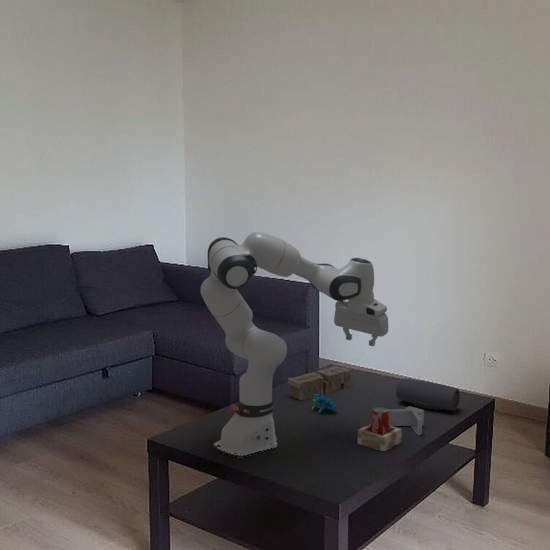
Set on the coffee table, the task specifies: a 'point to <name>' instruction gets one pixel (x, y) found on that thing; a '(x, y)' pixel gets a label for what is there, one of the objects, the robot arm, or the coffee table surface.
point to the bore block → (379, 438)
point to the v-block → (407, 418)
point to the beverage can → (380, 420)
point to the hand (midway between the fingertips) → (360, 342)
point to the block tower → (319, 382)
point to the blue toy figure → (323, 403)
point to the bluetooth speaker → (428, 394)
